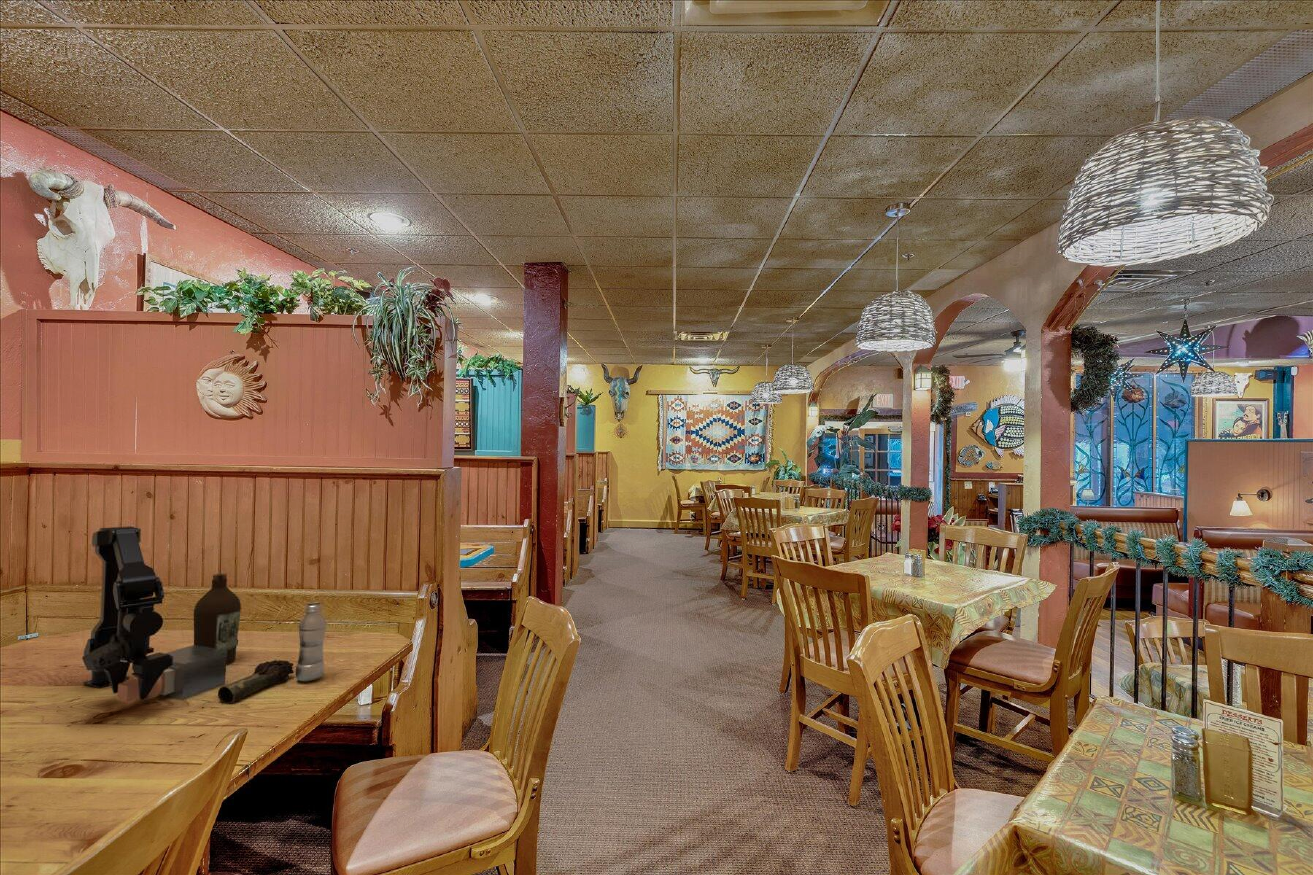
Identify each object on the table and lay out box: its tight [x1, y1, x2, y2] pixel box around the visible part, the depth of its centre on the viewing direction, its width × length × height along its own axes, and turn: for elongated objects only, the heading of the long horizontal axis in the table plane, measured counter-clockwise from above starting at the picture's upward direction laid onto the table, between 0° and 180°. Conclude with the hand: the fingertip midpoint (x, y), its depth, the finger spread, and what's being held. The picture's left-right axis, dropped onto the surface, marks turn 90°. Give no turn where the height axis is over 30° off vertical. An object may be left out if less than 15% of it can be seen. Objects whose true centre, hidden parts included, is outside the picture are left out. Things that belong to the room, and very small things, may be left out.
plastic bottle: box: [294, 602, 328, 682], centre depth 150 cm, size 6×7×20 cm
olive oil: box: [193, 572, 242, 666], centre depth 160 cm, size 11×11×25 cm
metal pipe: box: [217, 659, 295, 705], centre depth 144 cm, size 18×7×6 cm, turn 165°
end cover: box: [116, 667, 176, 704], centre depth 137 cm, size 6×15×6 cm, turn 162°
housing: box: [164, 644, 227, 700], centre depth 143 cm, size 12×10×8 cm
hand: (129, 695), depth 131 cm, fingers open, 9 cm apart
